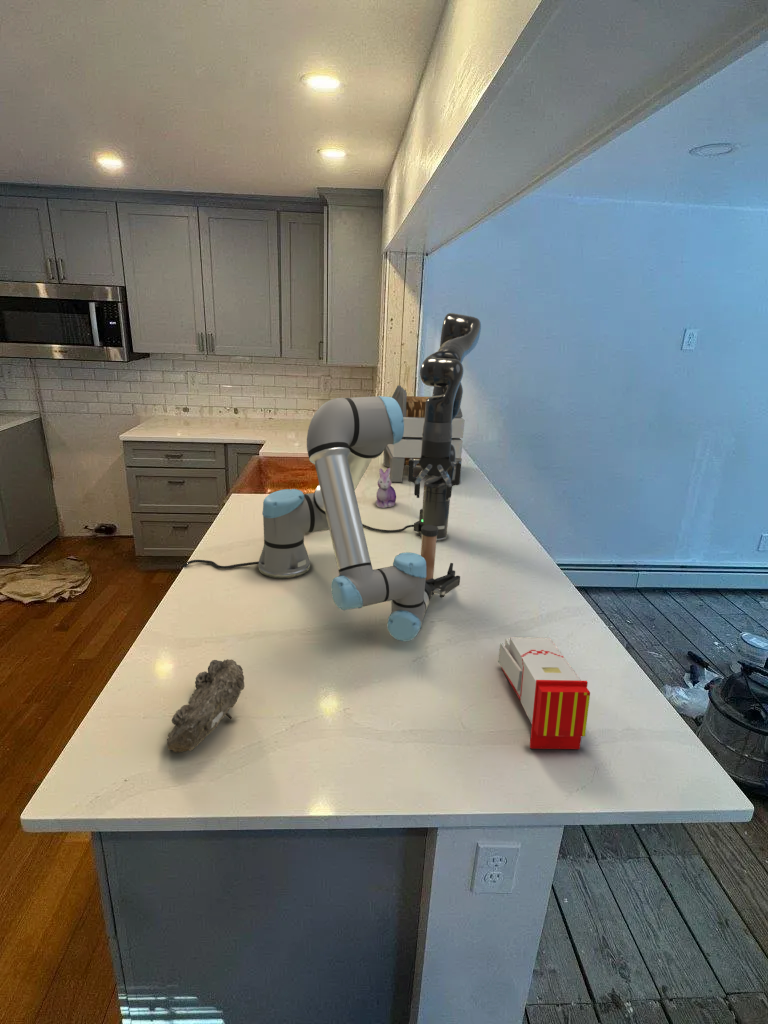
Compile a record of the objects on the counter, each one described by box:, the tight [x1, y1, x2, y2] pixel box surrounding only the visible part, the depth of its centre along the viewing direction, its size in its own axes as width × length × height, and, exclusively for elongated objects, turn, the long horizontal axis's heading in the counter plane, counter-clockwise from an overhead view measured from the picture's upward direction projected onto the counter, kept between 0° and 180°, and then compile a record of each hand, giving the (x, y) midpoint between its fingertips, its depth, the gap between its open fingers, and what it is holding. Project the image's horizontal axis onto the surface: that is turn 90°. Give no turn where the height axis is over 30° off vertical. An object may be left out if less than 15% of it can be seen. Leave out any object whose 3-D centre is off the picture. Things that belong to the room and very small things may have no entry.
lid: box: [421, 525, 438, 537], centre depth 155 cm, size 5×5×2 cm
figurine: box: [375, 467, 397, 509], centre depth 226 cm, size 9×10×15 cm
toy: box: [497, 636, 591, 750], centre depth 115 cm, size 12×13×30 cm
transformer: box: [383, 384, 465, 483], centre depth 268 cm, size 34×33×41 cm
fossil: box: [166, 658, 245, 754], centre depth 106 cm, size 22×10×15 cm
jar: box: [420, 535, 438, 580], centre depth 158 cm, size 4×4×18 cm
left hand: (428, 564), depth 162 cm, fingers open, 12 cm apart
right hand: (432, 498), depth 152 cm, fingers open, 7 cm apart
